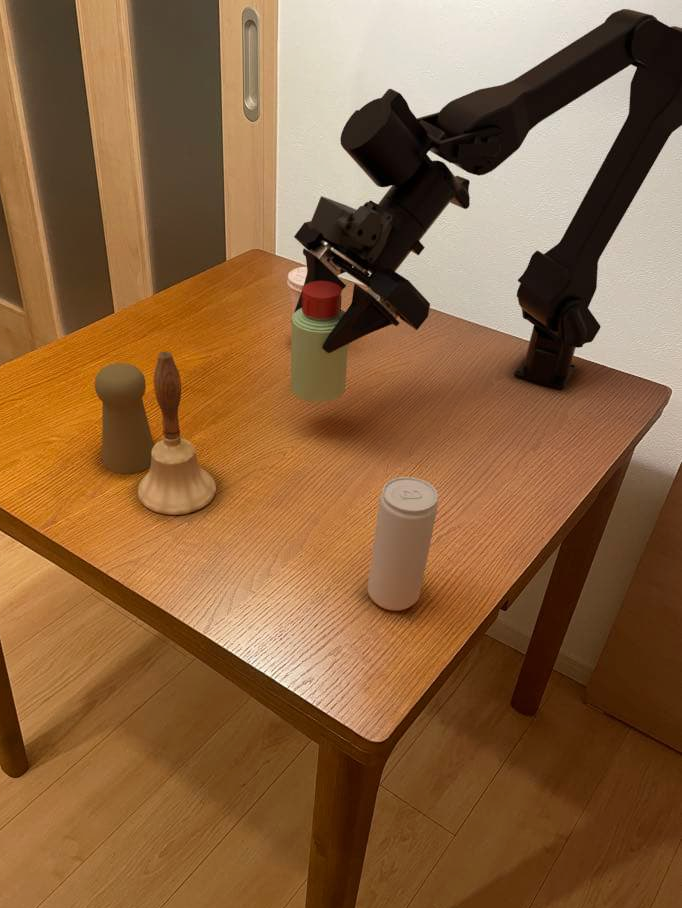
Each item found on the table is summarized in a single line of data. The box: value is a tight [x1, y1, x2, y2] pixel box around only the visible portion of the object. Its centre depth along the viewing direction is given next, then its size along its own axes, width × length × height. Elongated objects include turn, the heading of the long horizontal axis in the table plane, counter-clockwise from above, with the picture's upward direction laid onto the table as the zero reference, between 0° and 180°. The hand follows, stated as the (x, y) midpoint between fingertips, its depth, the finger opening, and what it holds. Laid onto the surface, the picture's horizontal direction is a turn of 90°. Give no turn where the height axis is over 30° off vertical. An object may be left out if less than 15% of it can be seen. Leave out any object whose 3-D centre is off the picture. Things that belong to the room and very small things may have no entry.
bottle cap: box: [302, 281, 343, 318], centre depth 84 cm, size 4×4×2 cm
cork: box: [94, 362, 155, 475], centre depth 85 cm, size 6×6×11 cm
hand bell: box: [137, 350, 217, 516], centre depth 79 cm, size 8×8×16 cm
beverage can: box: [367, 476, 439, 612], centre depth 70 cm, size 5×5×12 cm
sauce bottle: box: [290, 308, 349, 403], centre depth 87 cm, size 6×6×11 cm
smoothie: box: [286, 265, 307, 315], centre depth 105 cm, size 6×6×14 cm
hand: (309, 337), depth 86 cm, fingers closed on sauce bottle, 6 cm apart
